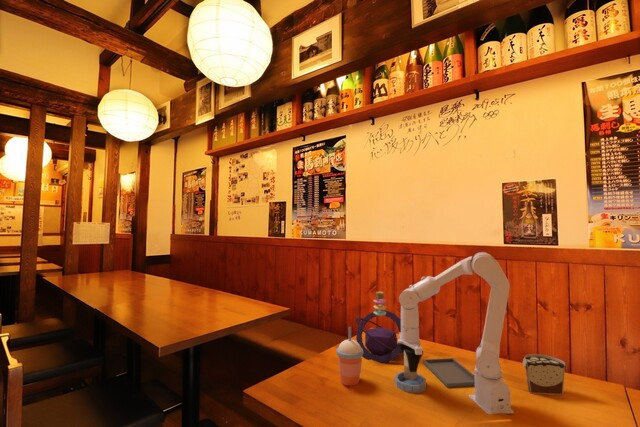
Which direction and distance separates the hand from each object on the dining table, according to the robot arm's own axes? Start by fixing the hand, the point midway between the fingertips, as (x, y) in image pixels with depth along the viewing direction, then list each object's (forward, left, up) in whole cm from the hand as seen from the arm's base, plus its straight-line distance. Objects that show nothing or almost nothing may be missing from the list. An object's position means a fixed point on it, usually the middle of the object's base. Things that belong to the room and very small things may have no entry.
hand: (410, 368), depth 102 cm
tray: (+6, -17, -6) cm, 19 cm away
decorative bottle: (+26, +2, -6) cm, 27 cm away
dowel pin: (0, 0, -3) cm, 3 cm away
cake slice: (-6, -41, -6) cm, 42 cm away
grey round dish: (0, 0, -6) cm, 6 cm away
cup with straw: (+5, +19, -6) cm, 21 cm away
